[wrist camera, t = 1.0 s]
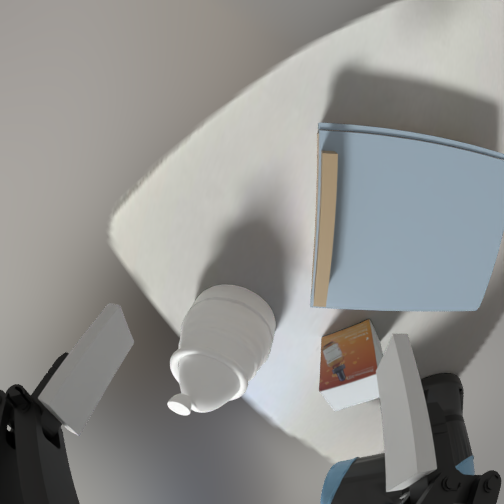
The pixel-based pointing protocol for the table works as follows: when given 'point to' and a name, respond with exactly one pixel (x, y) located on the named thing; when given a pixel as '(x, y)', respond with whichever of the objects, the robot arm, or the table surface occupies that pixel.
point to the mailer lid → (404, 221)
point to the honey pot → (220, 347)
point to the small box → (350, 366)
